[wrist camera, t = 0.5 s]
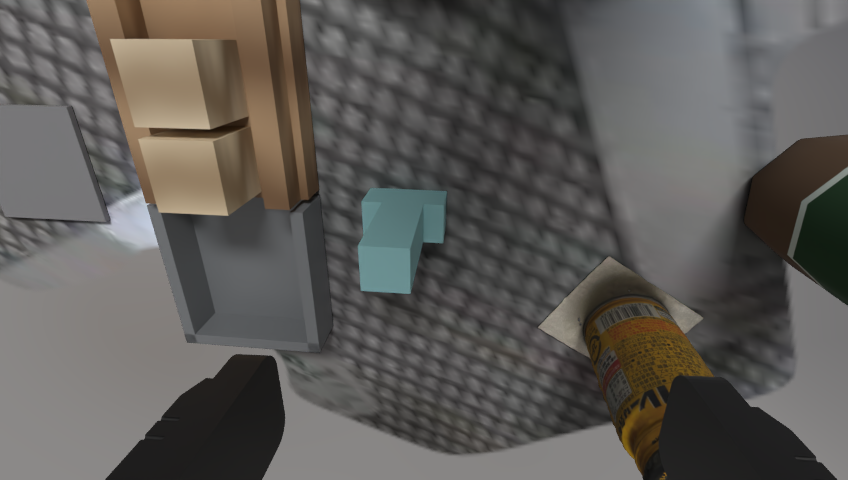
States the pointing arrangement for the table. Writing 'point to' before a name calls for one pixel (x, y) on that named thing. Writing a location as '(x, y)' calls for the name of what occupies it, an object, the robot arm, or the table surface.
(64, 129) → the mat
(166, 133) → the tan block
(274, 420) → the robot arm
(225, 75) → the tan wooden cube
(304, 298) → the tray
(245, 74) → the slot board
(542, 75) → the table surface
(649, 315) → the condiment
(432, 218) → the teal t-shaped block
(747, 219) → the beer bottle
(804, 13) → the table surface
